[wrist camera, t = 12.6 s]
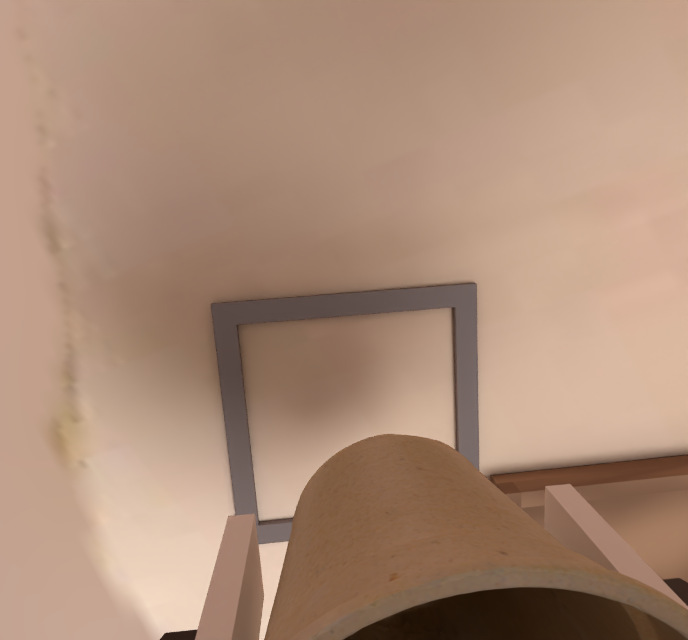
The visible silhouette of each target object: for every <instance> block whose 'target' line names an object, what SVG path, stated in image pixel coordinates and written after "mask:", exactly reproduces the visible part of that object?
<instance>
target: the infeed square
mask: <svg viewBox="0 0 688 640" xmlns="http://www.w3.org/2000/svg"><path fill="white" fill-rule="evenodd" d="M450 307H454V341H455V384H456V427H457V451H458V452H459V453H461V454H462V455H463V456H464V457H465V458H467V459H468V460H469V461H470V462H471V463H472V464H473V465H474V467H476V468H477V469H478V470H479V425H478V355H477V284H476V283H468V284H456V285H443V286H430V287H417V288H404V289H391V290H379V291H366V292H353V293H340V294H327V295H314V296H302V297H289V298H276V299H263V300H250V301H237V302H224V303H212V304H211V309H212V317H213V326H214V334H215V343H216V351H217V359H218V368H219V376H220V385H221V393H222V401H223V410H224V418H225V427H226V435H227V443H228V452H229V460H230V469H231V477H232V485H233V494H234V502H235V511H236V515H245V514H255V519H256V528H257V537H258V544H266V543H275V542H284V541H289V539H290V534H291V529H292V521H293V519H284V520H275V521H266V522H259V519H258V510H257V501H256V492H255V483H254V474H253V465H252V455H251V446H250V437H249V428H248V419H247V410H246V401H245V392H244V382H243V373H242V364H241V355H240V346H239V337H238V328H237V325H240V324H253V323H265V322H277V321H290V320H302V319H315V318H327V317H339V316H352V315H364V314H376V313H389V312H401V311H413V310H426V309H438V308H450Z"/></svg>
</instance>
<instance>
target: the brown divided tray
mask: <svg viewBox="0 0 688 640" xmlns="http://www.w3.org/2000/svg"><path fill="white" fill-rule="evenodd" d="M491 482H492V483H493V484H494V485H495V486H496V487H497V488H498V489H500V490H501V491H502V492H503V493H504V494H505V495H506V496H507V497H509V498H510V499H511V500H512V501H513V502H514V503H515V504H517V505H518V506H519V507H520V508H521V509H522V510H523V511H525V512H526V513H527V514H528V515H529V516H530V517H531V518H533V519H534V520H535V521H536V522H537V523H538V524H539V525H541V526H542V527H543V528H545V486H553V485H564V484H571V485H572V486H573V487H574V489H575V490H576V491H577V492H578V493H579V494H580V495H581V496H582V497H583V498H584V499H585V500H586V501H587V502H588V503H589V504H590V505H591V506H592V507H593V508H594V509H595V510H596V511H597V512H598V513H599V515H600V516H601V517H602V518H603V519H604V520H605V521H606V522H607V523H608V524H609V525H610V526H611V527H612V528H613V529H614V530H615V531H616V532H617V533H618V534H619V535H620V536H621V537H622V538H623V540H624V541H625V542H626V543H627V544H628V545H629V546H630V547H631V548H632V549H633V550H634V551H635V552H636V553H637V554H638V555H639V556H640V557H641V558H642V559H643V560H644V561H645V562H646V563H647V564H648V566H649V567H650V568H651V569H652V570H653V571H654V572H655V573H656V574H657V575H658V576H659V577H660V578H661V579H662V580H663V579H673V578H681V579H682V580H684V581H686V582H687V583H688V455H683V456H673V457H664V458H654V459H644V460H635V461H625V462H616V463H606V464H597V465H587V466H577V467H568V468H558V469H549V470H539V471H530V472H520V473H510V474H501V475H491Z"/></svg>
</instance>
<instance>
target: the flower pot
mask: <svg viewBox="0 0 688 640" xmlns="http://www.w3.org/2000/svg"><path fill="white" fill-rule="evenodd" d="M264 640H688V610H687V609H686V608H685V607H683V606H682V605H680V604H679V603H678V602H676V601H674V600H673V599H671V598H670V597H668V596H667V595H665V594H663V593H661V592H660V591H658V590H656V589H654V588H652V587H650V586H648V585H646V584H644V583H642V582H640V581H638V580H636V579H633V578H631V577H628V576H626V575H623V574H621V573H618V572H615V571H611V570H608V569H606V568H605V567H603V566H602V565H600V564H599V563H597V562H595V561H594V560H592V559H590V558H588V557H586V556H584V555H581V554H579V553H576V552H574V551H572V550H569V549H567V548H566V547H564V546H563V545H562V544H561V543H560V542H559V541H558V540H557V539H555V538H554V537H553V536H552V535H551V534H550V533H549V532H547V531H546V530H545V529H544V528H543V527H542V526H541V525H539V524H538V523H537V522H536V521H535V520H534V519H533V518H531V517H530V516H529V515H528V514H527V513H526V512H525V511H523V510H522V509H521V508H520V507H519V506H518V505H517V504H515V503H514V502H513V501H512V500H511V499H510V498H509V497H507V496H506V495H505V494H504V493H503V492H502V491H501V490H500V489H498V488H497V487H496V486H495V485H494V484H493V483H492V482H491V481H490V480H489V479H487V478H486V477H485V476H484V475H483V474H482V473H481V472H480V471H479V470H478V469H477V468H476V467H474V465H473V464H472V463H471V462H470V461H469V460H468V459H467V458H465V457H464V456H463V455H462V454H461V453H459V452H458V451H456V450H455V449H453V448H452V447H450V446H449V445H447V444H444V443H442V442H440V441H437V440H433V439H428V438H423V437H418V436H409V435H395V434H384V435H377V436H374V437H370V438H367V439H364V440H361V441H359V442H357V443H354V444H352V445H350V446H348V447H346V448H344V449H343V450H341V451H339V452H338V453H336V454H335V455H334V456H332V457H331V458H330V459H329V460H327V461H326V462H325V463H324V464H323V465H322V466H321V467H320V468H319V469H318V470H317V472H316V473H315V474H314V475H313V476H312V478H311V479H310V480H309V482H308V483H307V485H306V486H305V488H304V490H303V492H302V494H301V496H300V499H299V502H298V505H297V507H296V511H295V514H294V518H293V521H292V529H291V534H290V539H289V543H288V547H287V551H286V555H285V560H284V564H283V568H282V572H281V576H280V580H279V585H278V589H277V593H276V596H275V600H274V604H273V608H272V611H271V615H270V619H269V623H268V627H267V631H266V635H265V639H264Z"/></svg>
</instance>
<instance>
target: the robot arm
mask: <svg viewBox="0 0 688 640" xmlns="http://www.w3.org/2000/svg"><path fill="white" fill-rule="evenodd" d="M544 529H545V530H546V531H547V532H549V533H550V534H551V535H552V536H553V537H554V538H555V539H557V540H558V541H559V542H560V543H561V544H562V545H563V546H564V547H566V548H567V549H569V550H572V551H574V552H576V553H579V554H581V555H584V556H586V557H588V558H590V559H592V560H594V561H595V562H597V563H599V564H600V565H602V566H603V567H605V568H606V569H608V570H611V571H615V572H618V573H621V574H623V575H626V576H628V577H631V578H633V579H636V580H638V581H640V582H642V583H644V584H646V585H648V586H650V587H652V588H654V589H656V590H658V591H660V592H661V593H663V594H665V595H667V596H668V597H670V598H671V599H673V600H674V601H676V602H678V603H679V604H680V605H682V606H683V607H685V608H686V609H687V610H688V583H687V582H686V581H684V580H682V579H681V578H673V579H663V580H662V579H661V578H660V577H659V576H658V575H657V574H656V573H655V572H654V571H653V570H652V569H651V568H650V567H649V566H648V564H647V563H646V562H645V561H644V560H643V559H642V558H641V557H640V556H639V555H638V554H637V553H636V552H635V551H634V550H633V549H632V548H631V547H630V546H629V545H628V544H627V543H626V542H625V541H624V540H623V538H622V537H621V536H620V535H619V534H618V533H617V532H616V531H615V530H614V529H613V528H612V527H611V526H610V525H609V524H608V523H607V522H606V521H605V520H604V519H603V518H602V517H601V516H600V515H599V513H598V512H597V511H596V510H595V509H594V508H593V507H592V506H591V505H590V504H589V503H588V502H587V501H586V500H585V499H584V498H583V497H582V496H581V495H580V494H579V493H578V492H577V491H576V490H575V489H574V487H573V486H572V485H571V484H564V485H553V486H545V528H544ZM263 600H264V591H263V582H262V573H261V564H260V555H259V546H258V537H257V528H256V519H255V514H245V515H235V516H228V519H227V523H226V527H225V530H224V534H223V538H222V542H221V545H220V549H219V553H218V556H217V560H216V564H215V567H214V571H213V575H212V578H211V582H210V586H209V589H208V593H207V597H206V601H205V604H204V608H203V612H202V615H201V619H200V623H199V626H198V630H189V631H180V632H170V633H165V634H164V635H163V636H162V638H161V639H160V640H259V633H260V625H261V617H262V608H263Z"/></svg>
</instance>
